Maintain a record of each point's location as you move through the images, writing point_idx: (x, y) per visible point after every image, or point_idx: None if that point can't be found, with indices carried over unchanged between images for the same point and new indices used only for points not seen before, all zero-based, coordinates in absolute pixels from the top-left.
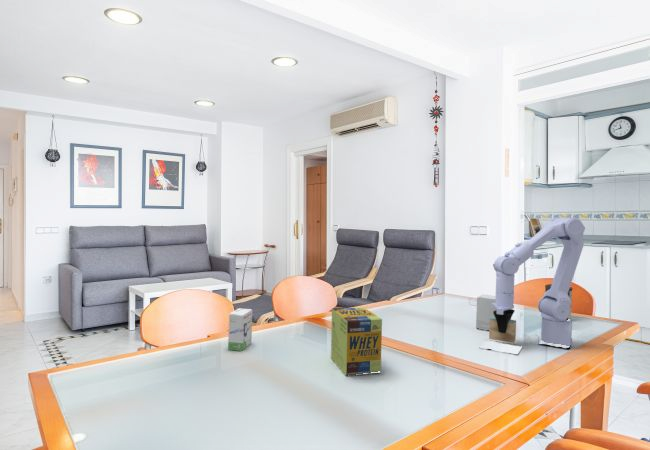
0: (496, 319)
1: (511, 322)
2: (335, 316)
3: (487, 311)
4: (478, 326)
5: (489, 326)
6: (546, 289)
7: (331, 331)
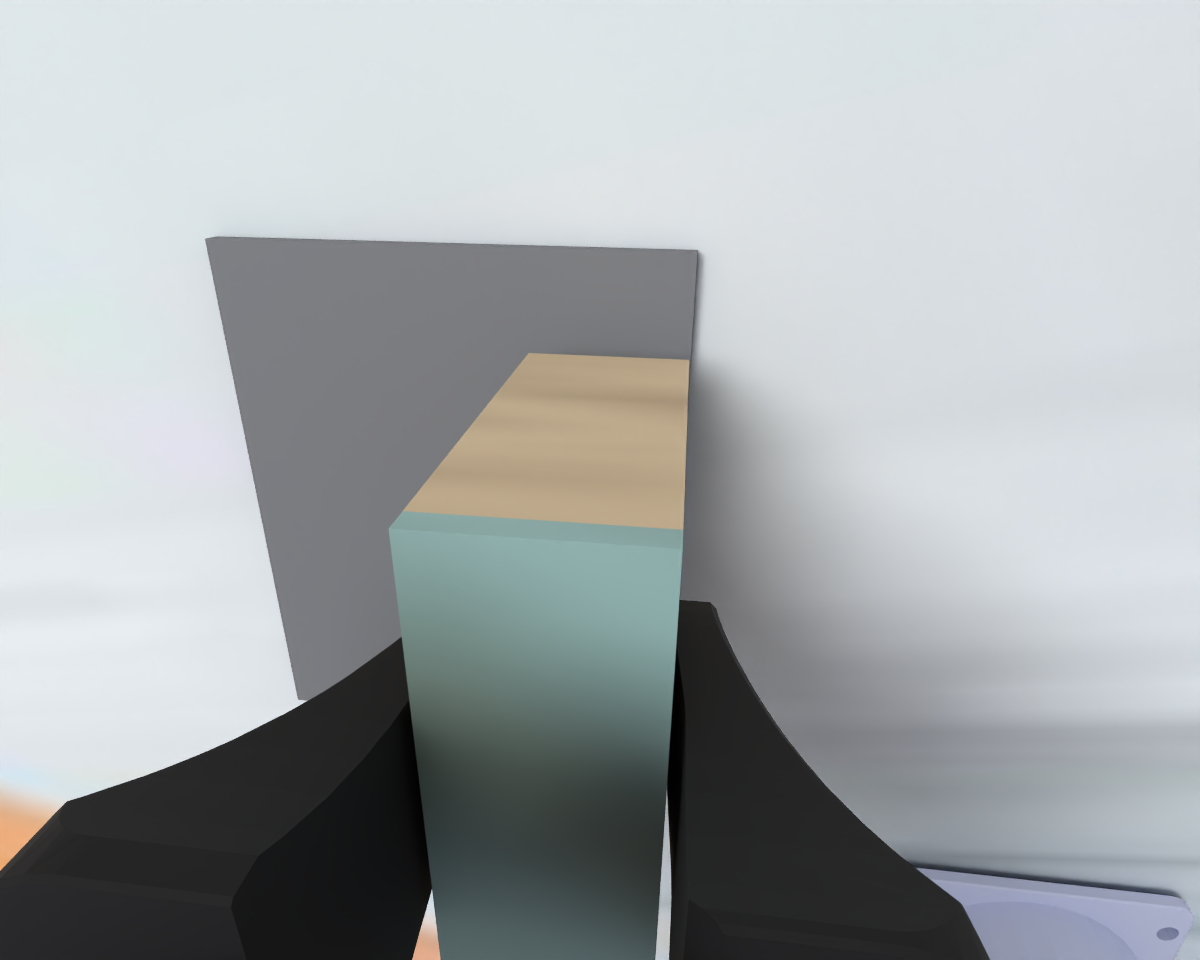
0: (255, 737)
1: (445, 950)
2: None
3: None
4: None
5: (464, 436)
6: None
7: None
